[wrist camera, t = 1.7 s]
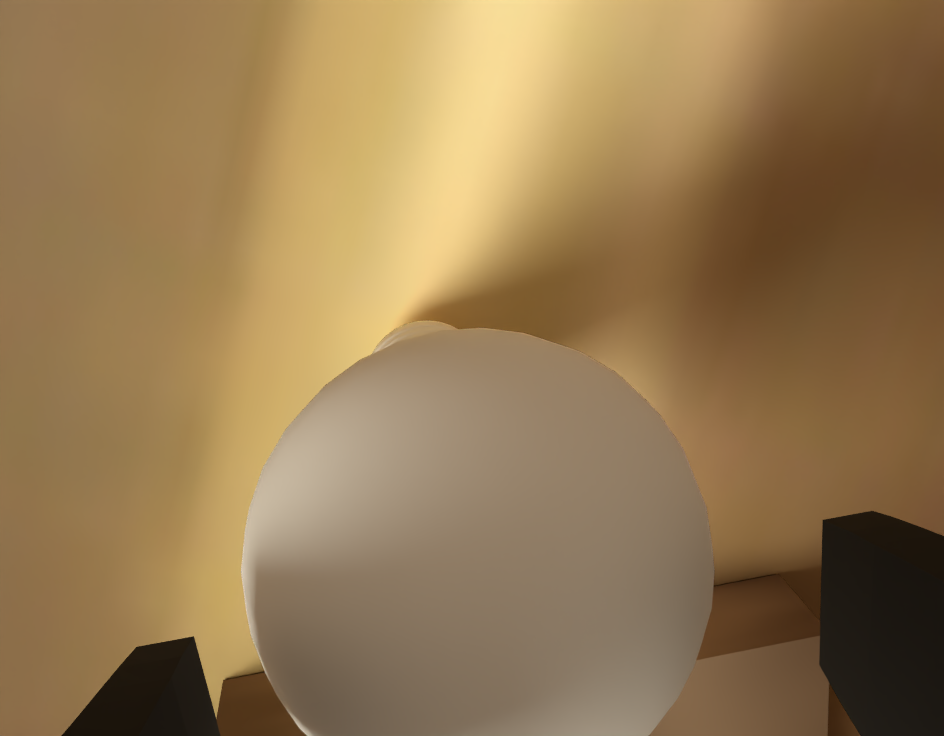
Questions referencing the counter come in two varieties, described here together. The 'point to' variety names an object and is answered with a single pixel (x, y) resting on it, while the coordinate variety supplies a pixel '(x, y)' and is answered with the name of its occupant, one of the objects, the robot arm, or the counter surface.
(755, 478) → the counter surface
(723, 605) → the walnut base
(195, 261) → the counter surface
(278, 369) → the counter surface
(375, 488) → the lightbulb
